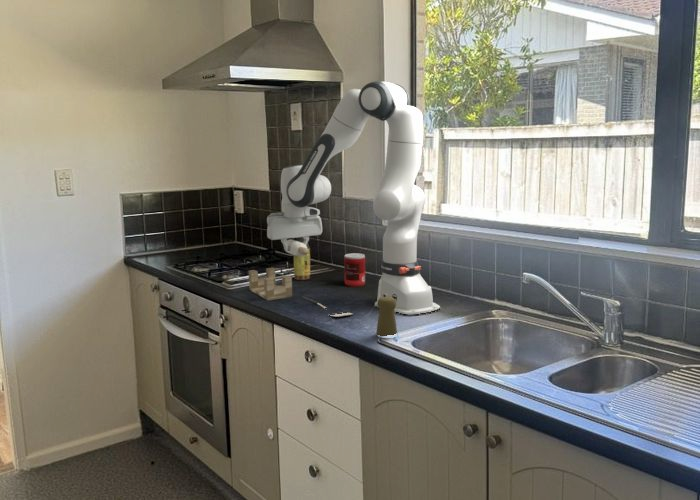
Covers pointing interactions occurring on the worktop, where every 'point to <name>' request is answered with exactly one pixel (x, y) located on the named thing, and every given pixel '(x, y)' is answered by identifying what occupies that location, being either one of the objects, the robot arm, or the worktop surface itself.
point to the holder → (270, 285)
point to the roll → (297, 248)
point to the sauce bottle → (302, 264)
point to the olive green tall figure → (386, 316)
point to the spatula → (325, 307)
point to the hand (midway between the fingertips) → (295, 249)
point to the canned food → (354, 269)
